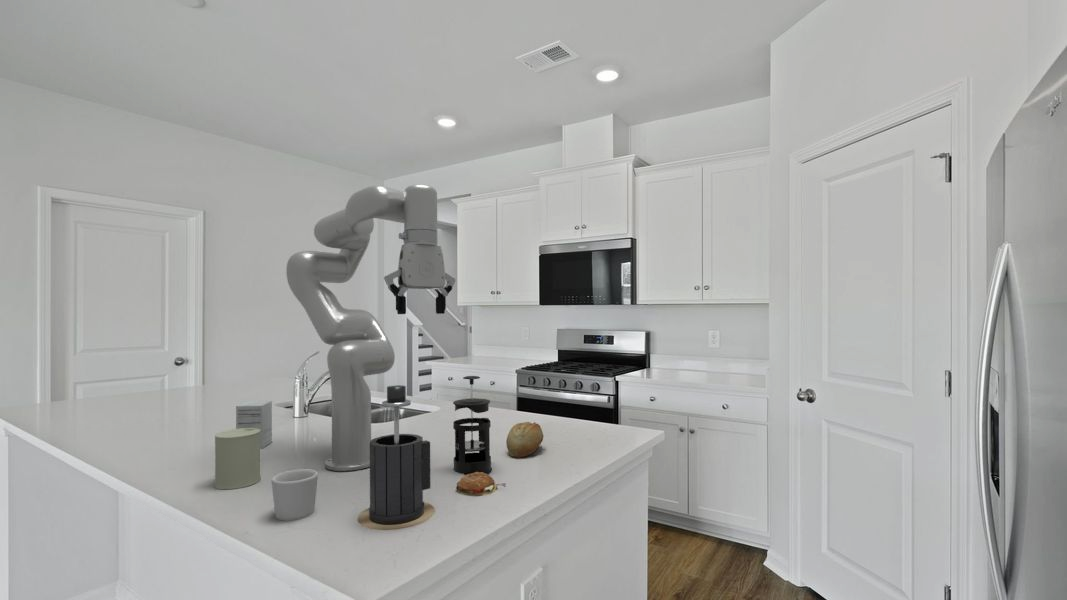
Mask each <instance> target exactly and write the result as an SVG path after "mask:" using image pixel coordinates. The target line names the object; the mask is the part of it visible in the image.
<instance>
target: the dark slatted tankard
mask: <svg viewBox="0 0 1067 600" xmlns="http://www.w3.org/2000/svg"><path fill="white" fill-rule="evenodd" d="M429 489H431V441H429V440H427V439H426V440H423V436H421V435H419V434H413V433H399V445H394V433H393V434H387V435H381V436H377V437H375V438H373V439H372V438H371V442H370V467H369V507H368V508H369V519H370V521H372V522H373V523H376V524H381V525H398V524H404V523H408V522H411V521H414V520H416V519H418V518H420V517H421V516H422V515H423V514H424V502H425V501H424V491H425V490H426V491H427V490H429Z"/></svg>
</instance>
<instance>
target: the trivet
mask: <svg viewBox="0 0 1067 600" xmlns="http://www.w3.org/2000/svg"><path fill="white" fill-rule="evenodd" d="M423 502H424V514H423V515H422V516H421V517H420V518H418V519H416V520H414V521H411V522H408V523H404V524H398V525H381V524H376V523H373V522H372V521H370V519H369V508H370V507H368V508H366V509H365V510H363V511H362V512H360V514H358V517H357V522H358V523H359V525H360V526H362V527H363V528H366V529H370V530H376V531H396V530H403V529H407V528H412V527H415V526H419V525H421V524H423V523H425V522H427V521H429V520H430V519H432V518H433V516H434V515H435V514H436V513H435V512H436V509H435V506H433V505H432V504H431V503H429V502H426V501H423Z"/></svg>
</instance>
